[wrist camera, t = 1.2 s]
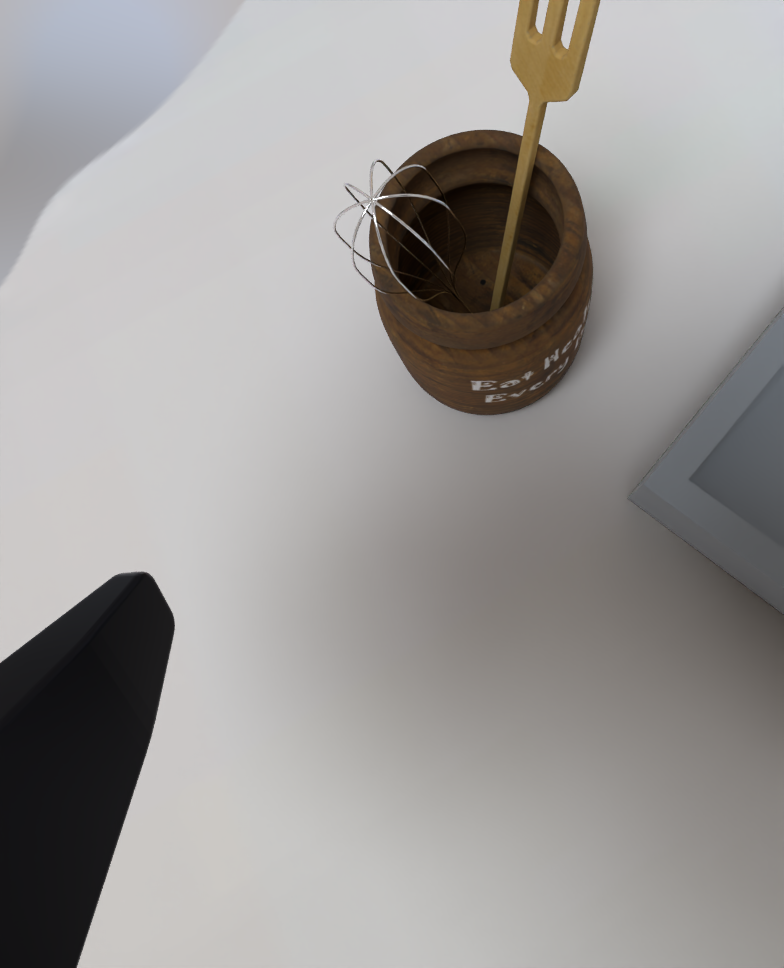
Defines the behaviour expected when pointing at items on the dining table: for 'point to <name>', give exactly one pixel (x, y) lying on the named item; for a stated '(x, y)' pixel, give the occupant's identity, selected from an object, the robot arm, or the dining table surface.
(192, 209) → the dining table surface
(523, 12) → the utensil holder
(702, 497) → the tray
